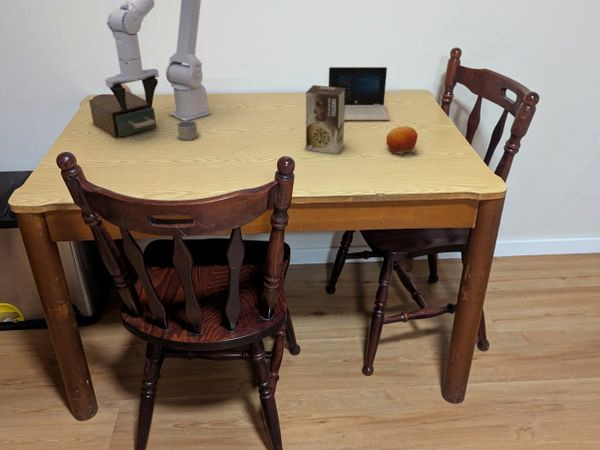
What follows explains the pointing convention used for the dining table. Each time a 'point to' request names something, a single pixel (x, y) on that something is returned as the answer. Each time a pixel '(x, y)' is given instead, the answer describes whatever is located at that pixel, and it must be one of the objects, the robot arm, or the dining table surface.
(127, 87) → the egg
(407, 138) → the fruit
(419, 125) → the dining table surface
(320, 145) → the cookie box
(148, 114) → the drawer
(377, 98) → the laptop
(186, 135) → the grey plastic pail
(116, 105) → the cabinet
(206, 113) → the robot arm
